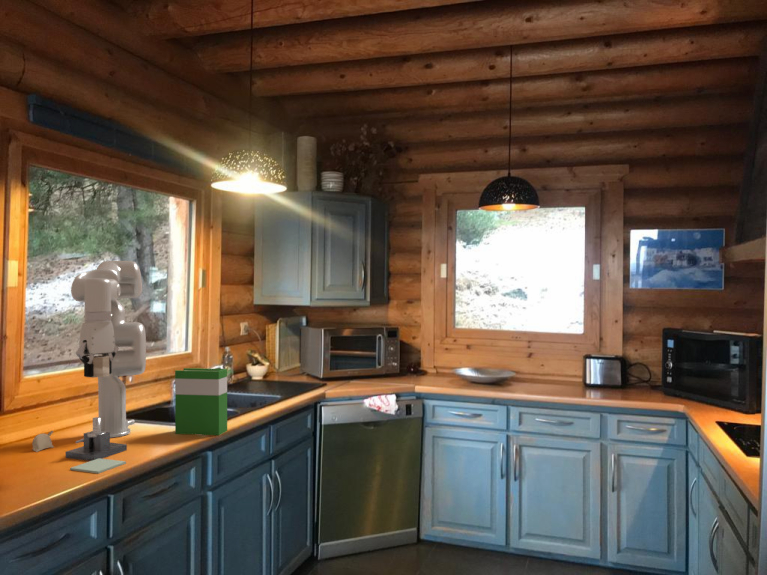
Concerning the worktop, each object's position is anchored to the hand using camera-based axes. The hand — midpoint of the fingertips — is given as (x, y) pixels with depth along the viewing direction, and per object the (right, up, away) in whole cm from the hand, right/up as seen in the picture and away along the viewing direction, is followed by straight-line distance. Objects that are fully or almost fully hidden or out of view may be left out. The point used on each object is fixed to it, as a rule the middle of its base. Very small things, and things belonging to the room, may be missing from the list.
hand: (98, 374), depth 186 cm
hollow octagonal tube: (0, 0, 0) cm, 0 cm away
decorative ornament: (-29, -29, +20) cm, 45 cm away
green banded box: (+19, -29, +43) cm, 55 cm away
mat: (+1, -28, -1) cm, 28 cm away
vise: (-7, -28, +13) cm, 32 cm away
